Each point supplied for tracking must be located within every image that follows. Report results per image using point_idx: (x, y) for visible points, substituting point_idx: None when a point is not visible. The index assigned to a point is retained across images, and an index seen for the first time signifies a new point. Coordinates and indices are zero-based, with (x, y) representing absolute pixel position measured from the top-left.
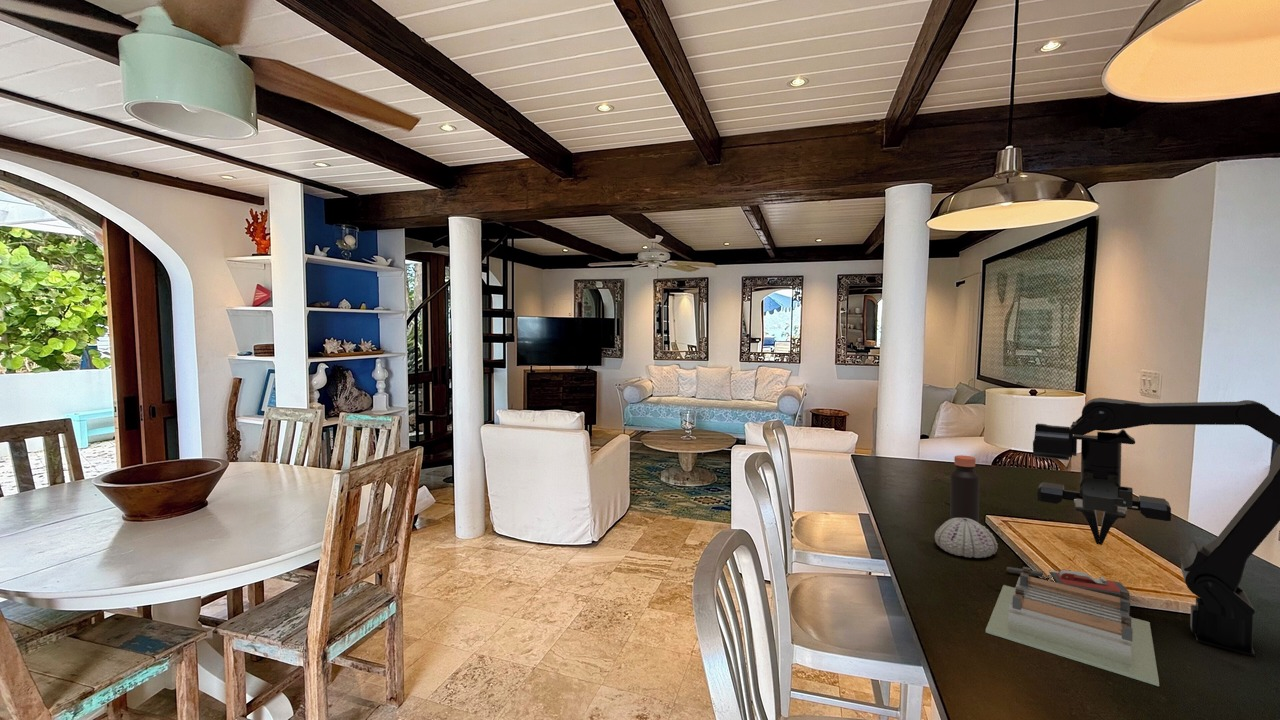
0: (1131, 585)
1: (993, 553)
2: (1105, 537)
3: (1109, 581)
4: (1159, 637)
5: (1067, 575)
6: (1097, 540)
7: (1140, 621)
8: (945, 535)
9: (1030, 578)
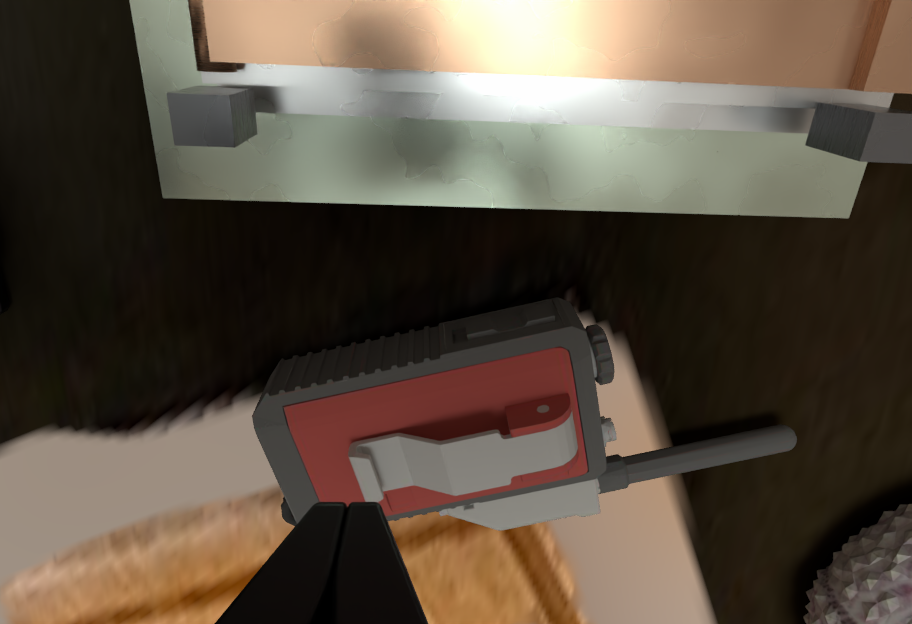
0: None
1: (821, 578)
2: (237, 596)
3: None
4: (110, 50)
5: (542, 416)
6: (361, 535)
7: (199, 173)
8: None
9: (850, 39)
